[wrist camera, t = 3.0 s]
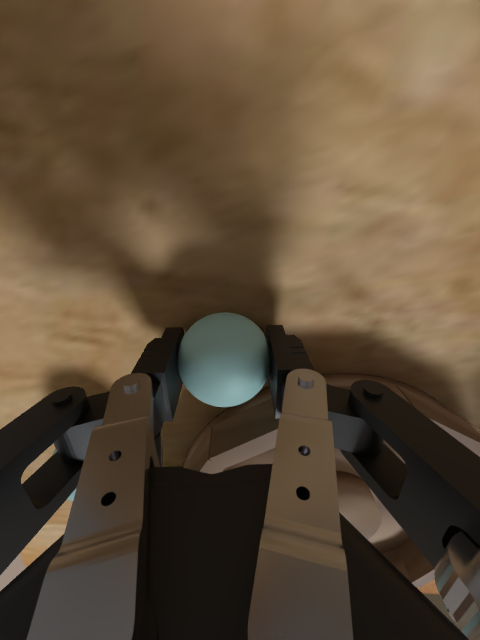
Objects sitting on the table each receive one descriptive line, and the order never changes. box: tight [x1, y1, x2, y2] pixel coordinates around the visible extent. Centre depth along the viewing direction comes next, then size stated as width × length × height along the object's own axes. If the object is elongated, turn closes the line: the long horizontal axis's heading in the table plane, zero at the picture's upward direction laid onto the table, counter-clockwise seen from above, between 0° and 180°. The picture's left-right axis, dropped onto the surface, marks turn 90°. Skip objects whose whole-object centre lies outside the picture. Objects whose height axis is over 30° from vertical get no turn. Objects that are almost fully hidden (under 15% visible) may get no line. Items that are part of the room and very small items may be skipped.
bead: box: [178, 312, 270, 407], centre depth 12 cm, size 4×4×4 cm
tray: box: [183, 374, 480, 588], centre depth 17 cm, size 19×19×3 cm
